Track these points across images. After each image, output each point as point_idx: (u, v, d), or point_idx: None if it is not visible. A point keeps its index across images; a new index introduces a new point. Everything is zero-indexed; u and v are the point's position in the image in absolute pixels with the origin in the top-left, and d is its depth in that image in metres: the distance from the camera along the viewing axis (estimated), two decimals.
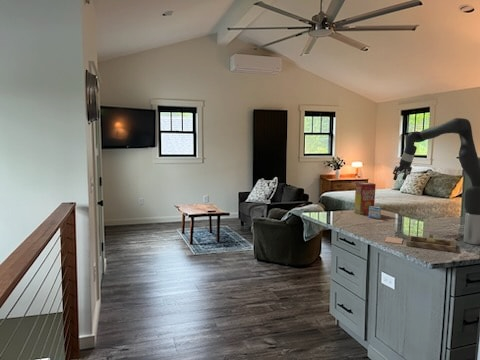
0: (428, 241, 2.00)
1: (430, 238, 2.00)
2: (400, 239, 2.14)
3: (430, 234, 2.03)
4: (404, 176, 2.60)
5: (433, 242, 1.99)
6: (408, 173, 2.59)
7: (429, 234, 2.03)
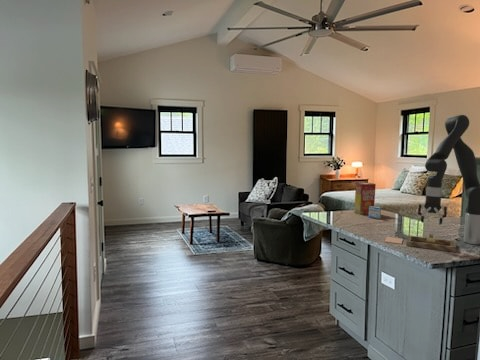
0: (428, 241, 2.01)
1: (430, 238, 2.00)
2: (400, 239, 2.14)
3: (430, 234, 2.03)
4: (423, 217, 2.04)
5: (433, 242, 1.99)
6: None
7: (429, 234, 2.03)
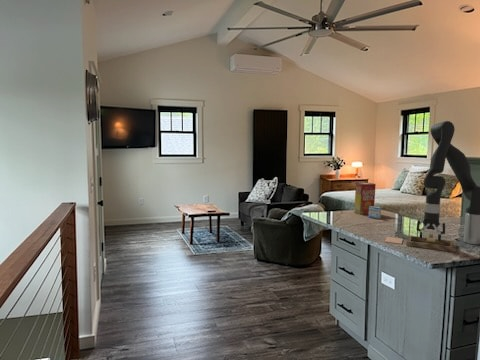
0: (428, 241, 2.01)
1: (430, 238, 2.00)
2: (400, 239, 2.14)
3: (430, 234, 2.03)
4: None
5: (433, 242, 1.99)
6: None
7: (429, 234, 2.03)
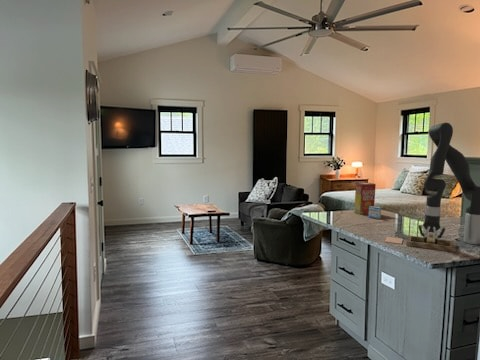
0: (428, 241, 2.01)
1: (430, 238, 2.00)
2: (400, 239, 2.14)
3: (430, 234, 2.03)
4: (426, 239, 2.04)
5: (433, 242, 1.99)
6: None
7: (429, 234, 2.03)
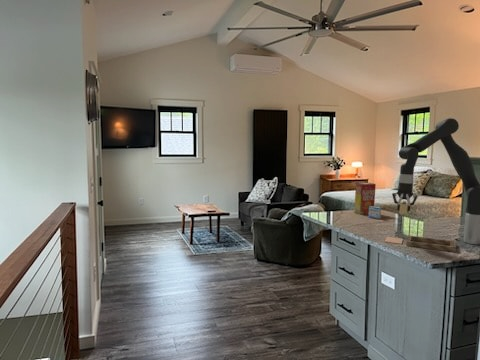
0: (401, 208, 2.05)
1: (403, 205, 2.05)
2: (400, 239, 2.14)
3: (403, 201, 2.08)
4: None
5: (406, 209, 2.04)
6: (396, 201, 2.10)
7: None
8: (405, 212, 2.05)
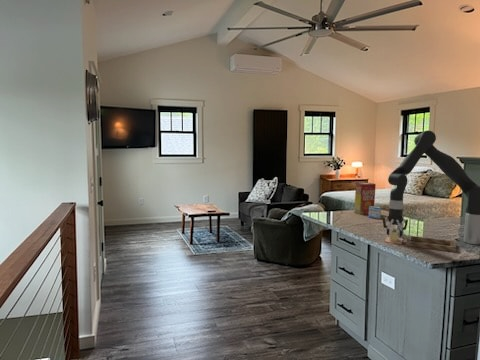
0: (391, 236, 2.09)
1: (393, 233, 2.09)
2: (400, 239, 2.14)
3: (394, 229, 2.12)
4: (389, 230, 2.13)
5: (396, 236, 2.08)
6: None
7: (393, 229, 2.12)
8: (395, 240, 2.08)
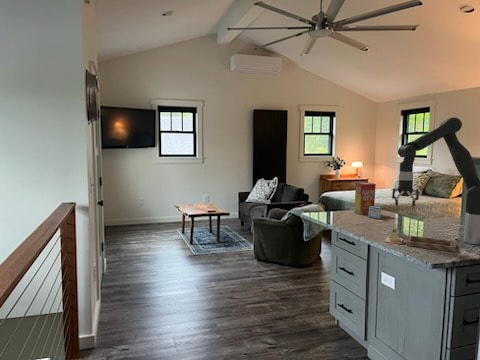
0: (391, 236, 2.09)
1: (393, 233, 2.09)
2: (400, 239, 2.14)
3: (394, 229, 2.12)
4: (397, 201, 2.15)
5: (396, 236, 2.08)
6: (394, 196, 2.16)
7: (393, 229, 2.12)
8: (395, 240, 2.08)
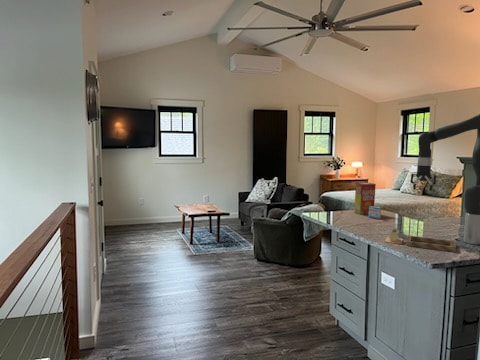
0: (391, 236, 2.09)
1: (393, 233, 2.09)
2: (400, 239, 2.14)
3: (394, 229, 2.12)
4: (415, 185, 2.27)
5: (396, 236, 2.08)
6: (412, 181, 2.28)
7: (393, 229, 2.12)
8: (395, 240, 2.08)
